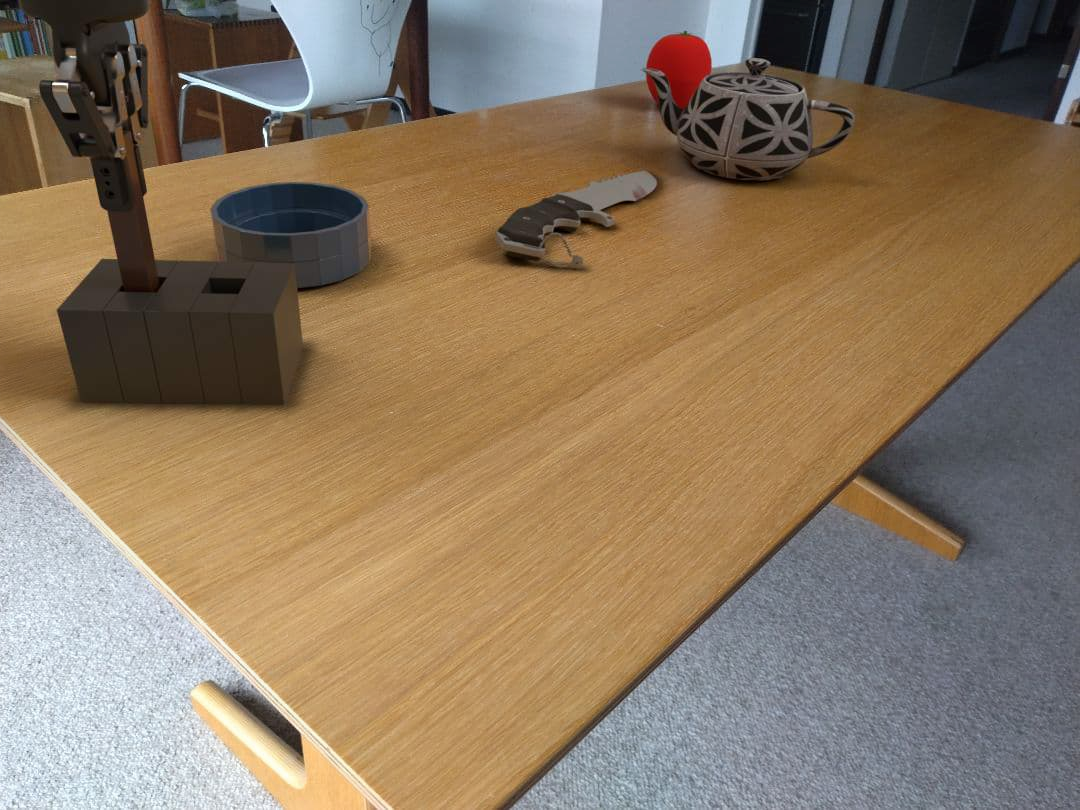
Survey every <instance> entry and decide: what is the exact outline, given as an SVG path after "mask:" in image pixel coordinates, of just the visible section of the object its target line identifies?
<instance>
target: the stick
mask: <svg viewBox="0 0 1080 810" xmlns="http://www.w3.org/2000/svg"><path fill="white" fill-rule="evenodd" d="M107 130H108V132H109V129H107ZM122 131H123V137H124V143H125V148H126V155H125V157H127V160H128V166H129V171H130V176H131V181H132V186H133V192H134V197H135V202H136V203H135V206H134V207H133V208H132V209H131V210H130V211H107V210H106V211H107V217H108V221H109V222H108V223H109V226H110V231H111V236H112V241H113V245H114V250H115V254H116V259H117V260H118V264H119V269H120V274H121V278H122V283H123V288H124V292H154V293H157V291H158V290H159V288H160V284H159V279H158V273H157V268H156V263H155V260H156V258H155V254H154V253H155V252H154V247H153V242H152V237H151V232H150V226H149V221H148V215H147V211H146V204H145V198H144V196H143V193H142V188H141V183H140V177H139V172H138V166H137V161H136V156H135V150H134V145H133V140H132V134H131V131H130V130H122Z"/></svg>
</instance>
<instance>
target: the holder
mask: <svg viewBox="0 0 1080 810" xmlns="http://www.w3.org/2000/svg"><path fill="white" fill-rule="evenodd" d="M155 263H156V268H157V273H158V279H159V284H160V288H159V290H158V291H157V293H154V292H124V288H123V283H122V278H121V274H120V269H119V264H118V260H117V258H101V259H100V260H99V261H98V262H97V263H96V265H94V267H93V268H92V269H91V270H90V271H89V273H88V274H87V275H86V276H85V277H84V278H83V279H82V280H81V281H80V283H78V285H77V286H76V287H75V288H74V290H72V292H71V293H70V294H69V295H68V296H67V297H66V298H65V299H64V301H63V302H62V303H61V304H59V306H58V307H57V308H56V313H57V316H58V321H59V324H60V328H61V331H62V335H63V339H64V343H65V348H66V349H67V350H66V351H67V354H68V358H69V362H70V365H71V370H72V374H73V376H74V380H75V384H76V388H77V391H78V395H79V399H80V402H81V404H135V405H136V404H141V405H143V404H145V405H147V404H148V405H150V404H151V405H157V404H158V405H162V404H163V405H238V406H239V405H241V406H242V405H244V406H245V405H246V406H250V405H251V406H284V405H285V404H286V401H287V398H288V395H289V392H290V389H291V386H292V383H293V381H294V377H295V375H296V372H297V368H298V365H299V363H300V359H301V357H302V356H301V355H302V353H303V350H304V342H303V334H302V333H303V331H302V323H301V312H300V303H299V292H298V288H297V282H296V273H295V264H294V263H263V262H255V263H254V262H222V261H220V262H218V260H217V261H213V260H212V261H210V260H173V259H170V260H169V259H167V260H166V259H155Z"/></svg>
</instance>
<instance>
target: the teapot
mask: <svg viewBox="0 0 1080 810" xmlns="http://www.w3.org/2000/svg"><path fill="white" fill-rule="evenodd" d="M744 64H745V67H746V68H747V69H748V72H743V71H741V72H740V71H726V72H716V73H711V74H710V75H708V76H706V77H705V78H703V80H702V81H701V83H700V84H699V86H698V88H697V89H696V91H695V92H694V94H693V96H692V97H691V99H690V101H689V102H688V104H687V106H686V108H685V110H684V109H682V108H680V107H679V106H678V105H677V104H676V103H675V102H674V100H673V97H672V94H671V90H670V85H669V82H668V79H667V77H666V76H665V75H664V73H662V72H661V71H659V70H654V69H649V68H646V67H640V70H641V71H642V72H644V73H645V75H646V74H648V75H649V76H650V77H651V78H652V80H653V82H654V83H655V86H656V89H657V94H658V101H659V104H658V109H659V115H660V118H661V121H662V123H663V125H664V126H665V128H666V129H667V131H669V132H670V133H671V134H672V135H674V136H676V139H677V143H678V146H679V148H680V150H681V151H682V152H683V154H684V155H685V157H686V158H687V159H689V160H690V163H691V165H693V166H694V167H695V168H697V169H698V170H699V171H702V172H704V173H707V174H711V175H713V176H717V177H720V178H726V179H731V180H739V181H752V182H764V181H772V180H773V181H774V180H777V179H781V178H783V177H785V176H787V175H788V174H789V173H790V172H792V171H795V170H796V169H797V168H799V167H800V166H802V165H803V164H804V163H805V162H806V161H807V160H808V159H812V158H814V157H818V156H820V155H823V154H825V153H827V152H829V151H832V150H833V149H835V148H836V147H838V146H839V145H840V144H842V143H843V142H844V141H845V140H846V139H847V138H848V136H850V134H851V133H852V130H853V128H854V125H855V122H856V116H855V113H854V112H853V110H851V109H850V108H848V107H846V106H844V105H841V104H838V103H833V102H829V101H821V100H815V99H809V98H808V94H807V90H806V88H805V87H804V86H803V84H801V83H798V82H796V81H795V80H792V79H788V78H784V77H779V76H775V75H769V74H764V72H765V70H767V69H768V68H769V67H770V66H771V62H770V61H769V60H767V59H764V58H758V57H750V58H746V59H745V60H744ZM811 110H815V111H820V112H821V111H822V112H827V113H832V114H836V115H837V116H840V117H841V118H842V119H843V122H842V124H841V126H840V128H839V130H838V131H837V133H836V134H835V135H833V137H832V138H830V139H829V140H828V141H826V142H824V143H823V144H820V145H819V146H816V147H813V145H814V124H813V116H812V112H811Z"/></svg>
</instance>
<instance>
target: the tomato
mask: <svg viewBox="0 0 1080 810" xmlns="http://www.w3.org/2000/svg"><path fill="white" fill-rule="evenodd" d="M712 61H713V60H712V56H711V51H710V49H709V46H708V44H707V43H706V41H705V40H704V38H703V37H701V36H698V35H695V34H693V33H692V32H691V33H688V30H684V31H683V32H679V31H678V32H677V33H672V34H668V35H665V36H662V37H661V38H660V39H659V40H657V41H656V43H655V44H654V45H653V47H652V48H651V49H650V51H649V54H648V57H647V60H646V66H645V68H649V69H654V70H659V71H661V72H662V73H664V75H665V76H666V77H667V79H668V82H669V85H670V90H671V94H672V97H673V100H674V102H675V103H676V104H677V105H678V106H679V107H680V108H682V109H684V110H685V108H686V106H687V104H688V102H689V101H690V99H691V97H692V96H693V94H694V92H695V91H696V89H697V88H698V86H699V84H700V83H701V81H702V80H703V78H705V77H706V76H708V75H711V74H712V68H713V62H712ZM645 80H646V84H647V88H648V91H649V92H650V95H651V98H652V99H653V100H654V101H655V103H656V104H657V105H659V101H658V94H657V89H656V86H655V83H654V82H653V80H652V78H651V77H650V76H649V75H648V74H646V73H645Z"/></svg>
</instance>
